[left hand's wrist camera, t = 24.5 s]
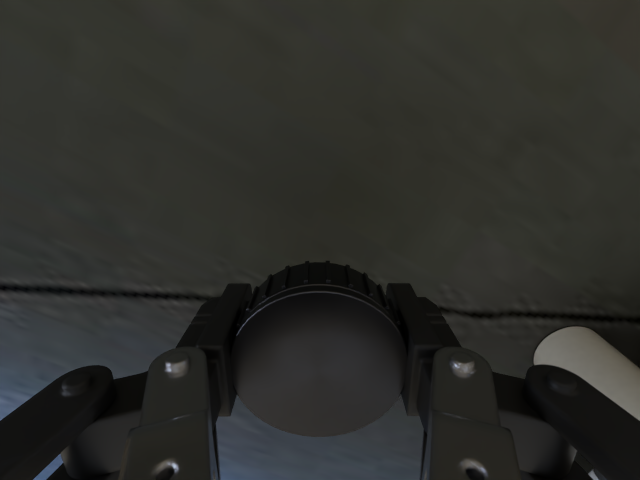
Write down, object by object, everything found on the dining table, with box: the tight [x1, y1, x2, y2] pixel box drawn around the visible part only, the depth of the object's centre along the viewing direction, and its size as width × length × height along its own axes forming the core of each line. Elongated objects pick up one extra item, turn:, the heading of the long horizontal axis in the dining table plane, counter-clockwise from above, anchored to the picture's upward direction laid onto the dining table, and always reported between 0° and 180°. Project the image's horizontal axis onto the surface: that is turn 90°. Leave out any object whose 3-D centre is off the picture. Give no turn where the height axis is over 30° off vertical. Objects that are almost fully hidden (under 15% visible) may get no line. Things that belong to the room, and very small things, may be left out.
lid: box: [230, 261, 408, 437], centre depth 10 cm, size 5×5×2 cm
